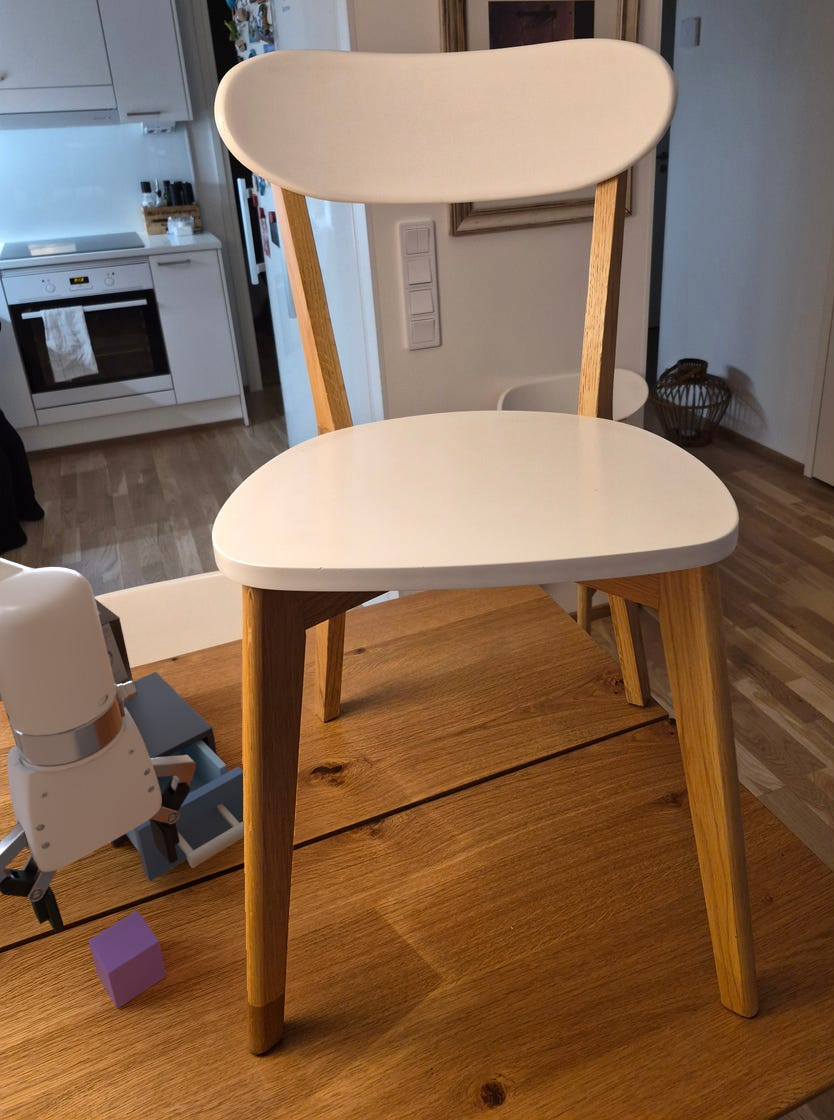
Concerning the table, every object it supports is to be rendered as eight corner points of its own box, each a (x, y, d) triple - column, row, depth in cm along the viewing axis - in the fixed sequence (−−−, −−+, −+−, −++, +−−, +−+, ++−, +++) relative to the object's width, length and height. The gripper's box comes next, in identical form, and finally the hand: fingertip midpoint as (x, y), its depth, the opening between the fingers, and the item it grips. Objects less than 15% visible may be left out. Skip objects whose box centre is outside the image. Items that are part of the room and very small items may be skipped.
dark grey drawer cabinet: (222, 787, 98) (212, 727, 95) (114, 847, 90) (98, 784, 87) (167, 727, 108) (155, 671, 104) (64, 777, 100) (48, 718, 97)
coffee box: (145, 725, 108) (122, 617, 102) (95, 751, 104) (69, 640, 98) (112, 695, 114) (88, 591, 108) (63, 718, 110) (36, 611, 103)
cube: (117, 1009, 74) (107, 974, 72) (97, 975, 77) (87, 940, 75) (167, 976, 77) (159, 941, 75) (145, 944, 80) (137, 909, 78)
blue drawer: (277, 848, 89) (269, 798, 86) (173, 914, 82) (161, 861, 79) (194, 759, 101) (185, 712, 98) (97, 809, 94) (85, 761, 91)
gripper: (156, 656, 73) (188, 808, 80) (-71, 754, 63) (-12, 920, 69) (196, 694, 68) (227, 853, 75) (-43, 808, 58) (18, 982, 64)
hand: (112, 885), depth 72 cm, fingers open, 9 cm apart
